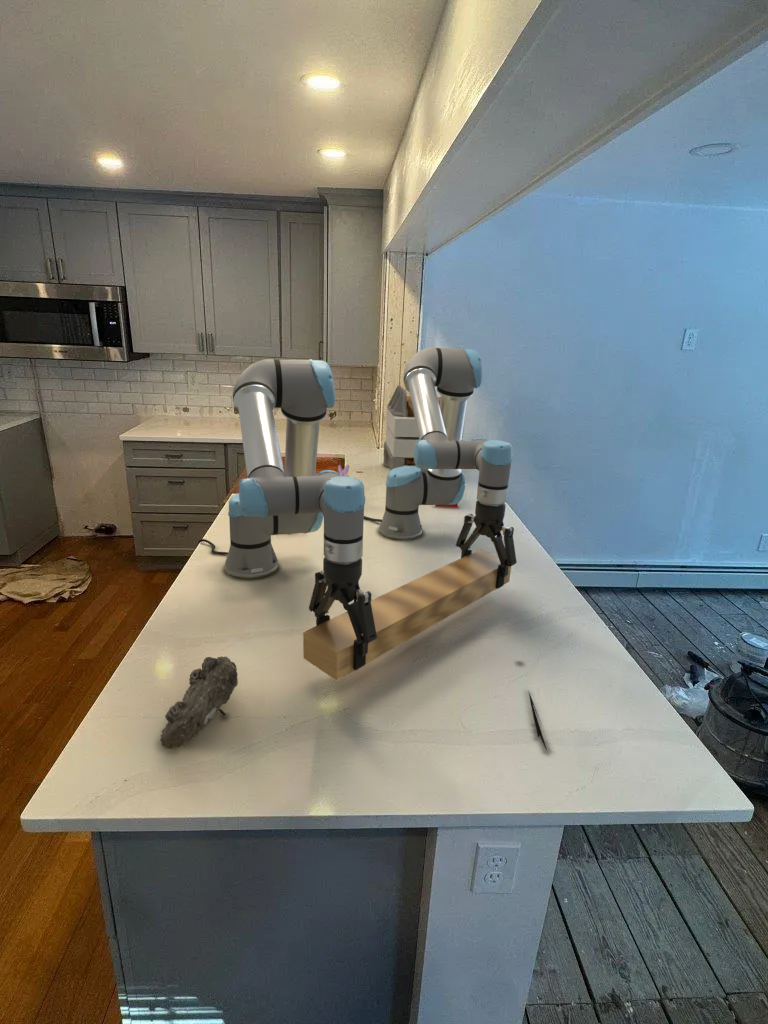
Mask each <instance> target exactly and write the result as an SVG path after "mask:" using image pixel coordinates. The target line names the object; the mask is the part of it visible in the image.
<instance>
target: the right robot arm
mask: <svg viewBox="0 0 768 1024" xmlns="http://www.w3.org/2000/svg"><path fill="white" fill-rule="evenodd" d="M402 377H403V378H402V379H403V384H404V388H405V390H406V392H408V393H409V396H410V397H411V402H412V407H413V411H414V416H415V421H416V426H417V431H418V435H419V441H417V442H416V443H415V447H414V462H415V465H416V466H407V465H404V466H402V467H397V468H394V469H392V470H391V471H390V470H388V473H387V475H386V480H385V481H386V482H385V487H386V488H385V504H384V505H385V507H384V508H385V509H384V513H383V515H382V519H381V518H374V517H369V516H366V515H364V520H366V521H370V522H375V523H379V527H378V533H379V534H380V535H381V536H382V537H385V538H387V539H389V540H395V541H410V540H415V539H418V538H420V537H421V536H422V535H423V525H422V524H421V518H420V515H419V507H420V506H435V505H455V504H457V503H458V504H459V503H461V501H462V499H463V496H464V494H465V490H466V485H465V484H466V477H465V474H464V472H462V470H477V471H478V481H477V482H478V483H477V492H476V502H475V510H474V514H475V515H474V514H472V513H469V514H467V515H464V518H463V524H462V528H461V530H460V533H459V534H458V537H457V540H456V542H455V547H456V548H459V549H460V551H461V553H460V558H463V557H465V556H467V555H469V554H471V553H473V550H472V549H471V548H472V546H473V545H474V543H475V542H476V541H477V539H479V537H480V536H485V537H487V538H489V539H490V541H491V542H492V543H493V546H494V549H495V551H496V555H498V557H499V560H500V563H501V564H500V565H498V571H497V579H496V587H495V588H497V589H496V590H498V589H501V588H502V587H504V586H505V584H504V577H506V576H507V575H508V568H509V567H511V568H512V566H514V565H516V564H517V556H516V549H515V548H516V547H515V541H514V531H515V528H514V527H513V526H506V525H505V524H504V519H505V514H506V507H507V505H506V503H507V498H508V490H509V481H510V474H511V467H512V461H513V446H512V443H510V442H507V441H504V440H497V439H489V440H488V439H486V438H483V437H474V438H472V439H471V440H462V439H463V438H462V433H463V434H464V432H463V426H464V427H465V421H464V420H465V418H466V412H467V405H468V400H469V399H470V398H471V397H472V396H473V395H474V392H475V391H474V390H475V389H478V388H480V387H481V385H482V382H483V364H482V359H481V355H480V354H479V352H478V351H477V350H476V349H471V348H465V347H462V348H461V347H426V348H423V349H421V350H419V351H417V352H416V353H414V354H413V355H412V357H410V359H408V362H407V363H406V365H405V368H404V370H403V376H402ZM437 393H438V394H439V396H440V397H441V399H440V406H439V402H438V398H437V397H438V395H437ZM461 440H462V441H461ZM422 469H423V470H426V471H422ZM473 524H474V525H475V528H474V529H473V530H472V526H473ZM471 530H472V533H471V534H470V531H471ZM469 534H470V536H469Z"/></svg>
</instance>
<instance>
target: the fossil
mask: <svg viewBox="0 0 768 1024" xmlns="http://www.w3.org/2000/svg"><path fill="white" fill-rule="evenodd" d="M237 667H238V666H237V665H236V663H235V662H234V661H231V659H230V658H229V657H228V656H218V657H217V658H216V657H212V656H206V657H205V658H204V659H203V662H202V663H201V667H200V668H199V667H198V668H195V669H193V670H192V671H191V672H190V674H189V679H188V680H189V682H188V683H189V686H188V687H187V690H186V691H185V694H184V695H183V697H182V701H181V700H180V701H176V702H175V703H174V705H171V706H170V708H169V709H168V710H167V712H166V714H165V715H164V718H165V720H166V721H167V723H166V724H165V727H164V728H162V729H161V734H160V742H161V746H163V747H166V748H167V749H175V748H180V747H183V748H184V747H186V746H187V745H189V743H190V742H191V741H192V740H193V739H195V738H197V736H198V735H199V734H200V733H201V732H202V731H204V730H205V728H207V727H208V725H210V724H211V722H212V721H213V718H214V717H215V716H216V715H218V713H220V714H221V715H222V716H223V717H225V716H226V712H224V710H222V706H223V705H226V704H227V703H228V701H229V700H230V699H231V695H232V694H233V692H234V690H235V688H236V687H238V684H239V681H238V671H237V670H238V668H237Z"/></svg>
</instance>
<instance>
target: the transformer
mask: <svg viewBox="0 0 768 1024" xmlns="http://www.w3.org/2000/svg"><path fill="white" fill-rule="evenodd" d="M407 394H408V393H407V390H406V389H404V388H403V387H402V385H399V384H398V385H397V386H396V388H395V390H394V392H393V394H392V395H391V398H390V400H389V402H388V404H387V405H386V413H385V414H386V415H385V423H386V428H385V438H384V442H383V466H384V467H388V468H389V471H391V470H392V469H394V468H397V467H402V466H412V467H413V466H415V467H417V466H416V465H415V462H414V447H415V443H416V442H417V441H419V435H418V431H417V426H416V421H415V416H414V411H413V407H412V402H411V397H410V395H407ZM437 398H438V402H439V406H440V399H441V396H437ZM464 422H465V419H464ZM464 429H465V425H464V426H463V433H462V439H463V438H464V431H465V430H464ZM461 441H463V440H461Z"/></svg>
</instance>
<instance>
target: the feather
mask: <svg viewBox="0 0 768 1024" xmlns="http://www.w3.org/2000/svg"><path fill="white" fill-rule="evenodd" d="M528 696H529V701H530V706H531V712H532V716H533V717H532V718H533V722H534V726H535V729H536V734H537V738H540V739H541V743H542V744H543V747H544V748H545V750H546V751H547V750H548V749H547V746H546V742H545V739H544V736H543V733H542V731H544V728H543V727H544V725H543V723H542V721H541V718H540V717H539V713H538V711H537V709H536V706H535V703H534V701H533V698H532V696H531V693H530V691H529V689H528ZM541 728H542V729H541ZM545 738H548V737H547V735H545ZM538 740H539V739H538Z"/></svg>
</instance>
